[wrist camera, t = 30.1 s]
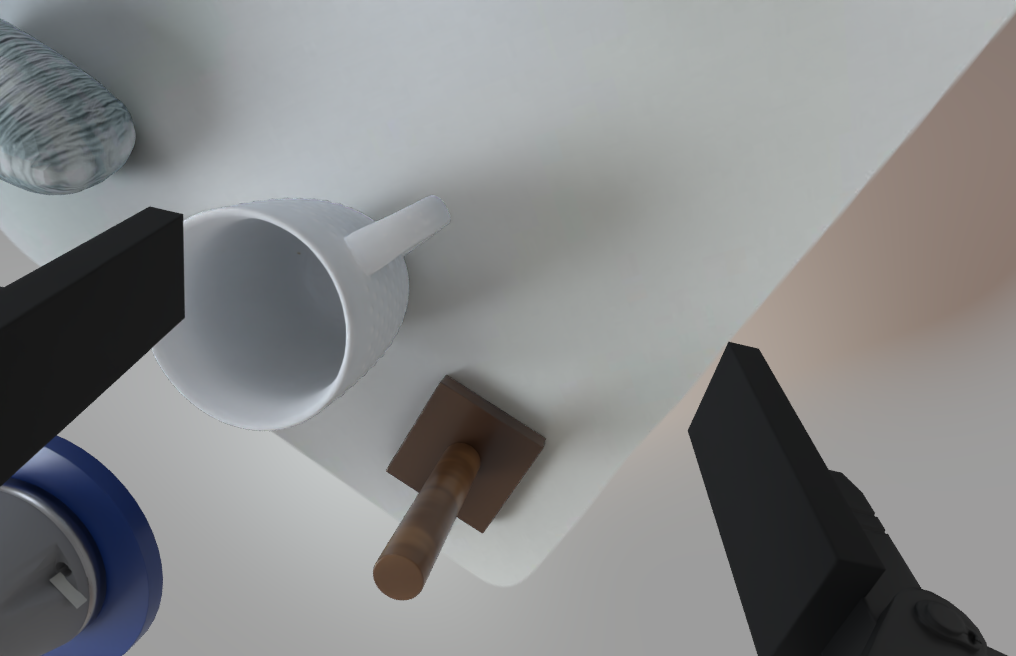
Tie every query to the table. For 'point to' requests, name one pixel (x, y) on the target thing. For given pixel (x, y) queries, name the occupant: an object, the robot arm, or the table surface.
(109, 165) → the streaked grey ellipsoid
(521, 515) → the table surface
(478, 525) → the dowel stand
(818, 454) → the robot arm
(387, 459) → the table surface
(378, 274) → the mug
